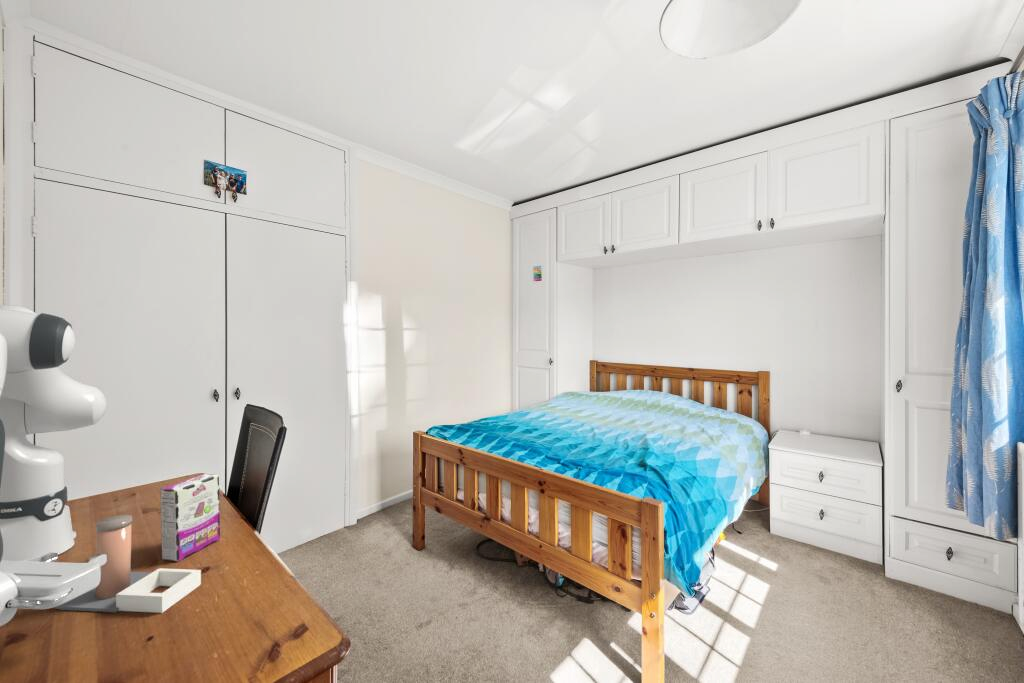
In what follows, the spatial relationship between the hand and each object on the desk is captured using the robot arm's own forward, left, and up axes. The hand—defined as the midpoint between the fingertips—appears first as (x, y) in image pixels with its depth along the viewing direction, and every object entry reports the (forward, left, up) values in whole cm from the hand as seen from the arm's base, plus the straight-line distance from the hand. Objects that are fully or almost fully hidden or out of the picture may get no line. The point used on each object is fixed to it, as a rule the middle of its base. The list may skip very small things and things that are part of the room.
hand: (78, 557), depth 77 cm
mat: (0, +7, -11) cm, 13 cm away
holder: (+10, +6, -11) cm, 16 cm away
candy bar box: (+1, +24, -11) cm, 27 cm away
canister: (0, +6, -10) cm, 12 cm away
